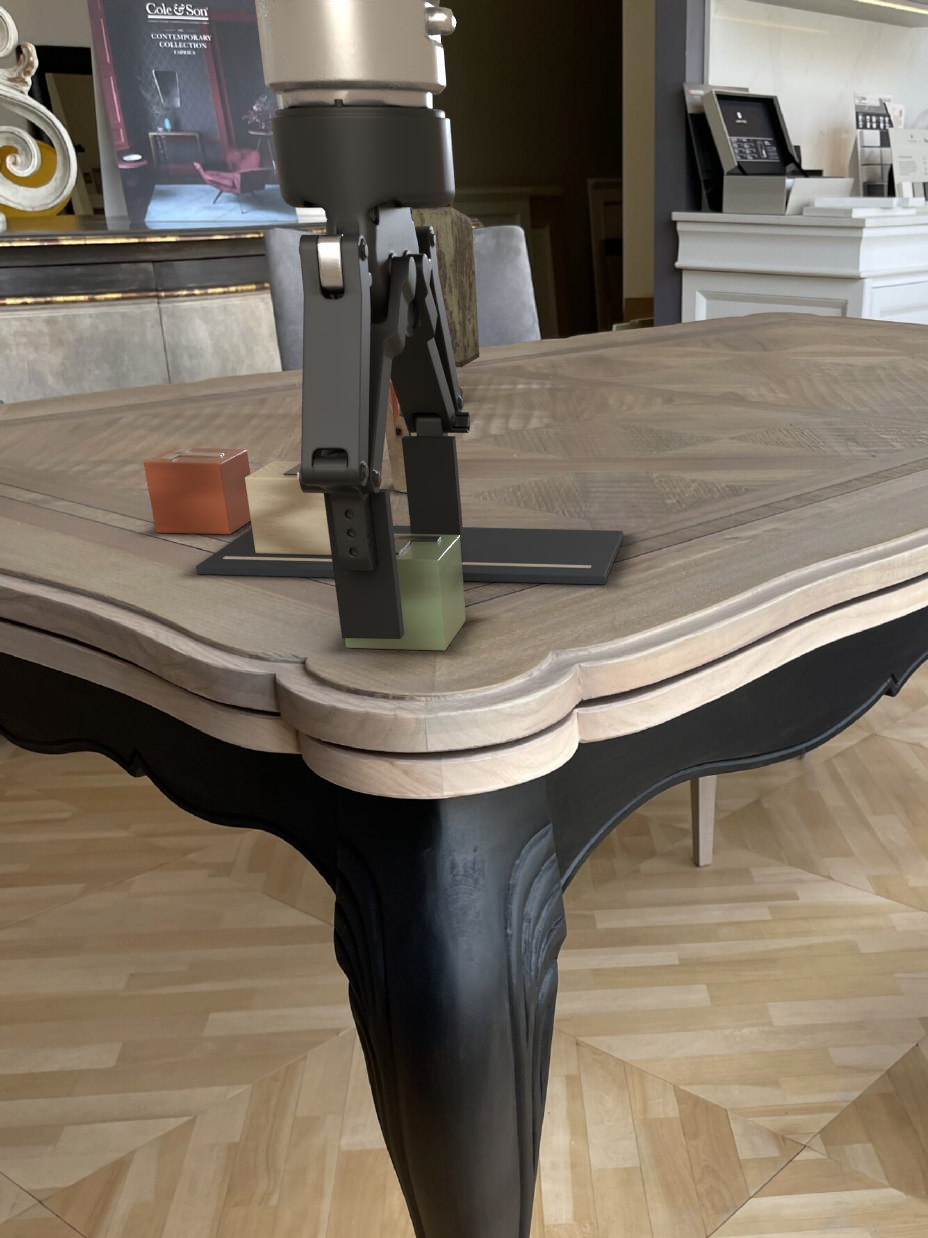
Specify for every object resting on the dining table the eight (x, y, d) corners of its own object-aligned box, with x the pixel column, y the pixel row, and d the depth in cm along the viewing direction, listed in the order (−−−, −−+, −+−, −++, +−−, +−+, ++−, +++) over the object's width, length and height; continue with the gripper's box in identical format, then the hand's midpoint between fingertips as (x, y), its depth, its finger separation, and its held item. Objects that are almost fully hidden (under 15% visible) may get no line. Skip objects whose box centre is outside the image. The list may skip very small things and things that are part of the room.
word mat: (196, 574, 76) (195, 565, 76) (261, 529, 86) (259, 521, 86) (604, 584, 75) (604, 575, 75) (623, 538, 85) (623, 529, 84)
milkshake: (447, 479, 100) (437, 339, 96) (446, 494, 96) (436, 348, 91) (387, 481, 100) (374, 340, 95) (383, 495, 95) (369, 348, 90)
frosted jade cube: (345, 648, 65) (335, 555, 63) (372, 618, 69) (363, 530, 67) (445, 651, 64) (438, 557, 62) (466, 620, 69) (460, 532, 67)
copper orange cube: (155, 533, 85) (142, 460, 83) (185, 515, 89) (174, 445, 87) (230, 534, 85) (219, 461, 83) (257, 517, 89) (247, 447, 87)
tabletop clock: (393, 391, 141) (370, 123, 129) (478, 390, 142) (462, 124, 130) (390, 413, 128) (364, 118, 116) (483, 411, 129) (466, 119, 117)
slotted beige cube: (255, 554, 79) (243, 475, 76) (282, 534, 83) (272, 459, 81) (336, 555, 78) (327, 477, 76) (359, 535, 83) (351, 460, 81)
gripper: (366, 82, 44) (425, 678, 54) (500, 116, 66) (524, 537, 76) (152, 84, 45) (249, 675, 55) (355, 117, 67) (398, 535, 77)
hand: (409, 596), depth 66 cm, fingers open, 13 cm apart
